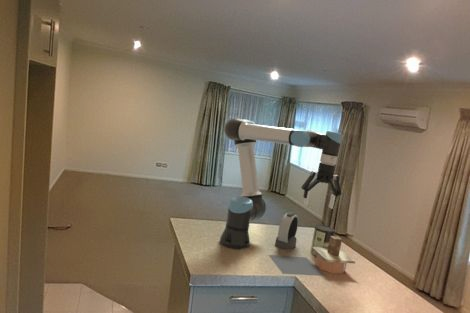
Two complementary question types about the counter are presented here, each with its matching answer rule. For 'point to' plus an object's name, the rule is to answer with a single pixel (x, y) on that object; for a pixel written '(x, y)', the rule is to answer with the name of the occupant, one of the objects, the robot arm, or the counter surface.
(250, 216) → the robot arm
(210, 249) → the counter surface
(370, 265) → the counter surface
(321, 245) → the coffee can
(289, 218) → the alarm clock
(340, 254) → the lid
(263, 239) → the counter surface
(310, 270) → the mat
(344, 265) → the bowl
